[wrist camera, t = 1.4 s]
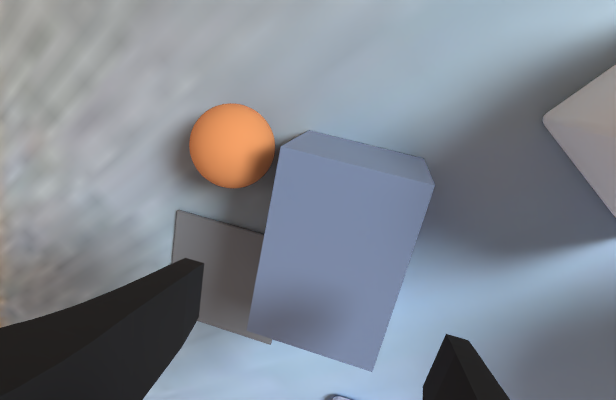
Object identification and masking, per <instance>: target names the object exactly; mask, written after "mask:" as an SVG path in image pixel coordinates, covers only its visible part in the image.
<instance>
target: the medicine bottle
mask: <svg viewBox="0 0 616 400" xmlns="http://www.w3.org/2000/svg"><path fill="white" fill-rule="evenodd" d="M543 123H544V125H545V127H546V128H547V129H548V131H549V132H550V133H551V134H552V136H553V137H554V138H555V140H556V141H557V142H558V144H559V145H560V146H561V147H562V149H563V150H564V151H565V153H566V154H567V155H568V157H569V158H570V159H571V160H572V162H573V163H574V164H575V166H576V167H577V168H578V170H579V171H580V172H581V174H582V175H583V176H584V177H585V179H586V180H587V181H588V183H589V184H590V185H591V187H592V188H593V189H594V190H595V192H596V193H597V194H598V196H599V197H600V198H601V200H602V201H603V202H604V203H605V205H606V206H607V207H608V209H609V210H610V211H611V213H612V214H613V215H614V217H615V218H616V64H615V65H614V66H613V67H611V68H610V69H608V70H607V71H605V72H604V73H603V74H601V75H600V76H598V77H597V78H595V79H594V80H593V81H591V82H590V83H588V84H587V85H586V86H584V87H583V88H581V89H580V90H578V91H577V92H576V93H574V94H573V95H571V96H570V97H568V98H567V99H566V100H564V101H563V102H561V103H560V104H558V105H557V106H556V107H554V108H553V109H551V110H550V111H549V112H547V113H546V114H545V115H544V116H543Z"/></svg>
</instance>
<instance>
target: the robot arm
mask: <svg viewBox="0 0 616 400" xmlns="http://www.w3.org/2000/svg"><path fill="white" fill-rule="evenodd" d="M203 272H204V263H202V262H199V261H195V260H192V259H188V258H184V259H181V260H179V261H177V262H175V263H172V264H170V265H168V266H166V267H164V268H162V269H160V270H158V271H156V272H153V273H151V274H149V275H147V276H145V277H143V278H140V279H138V280H136V281H134V282H132V283H129V284H127V285H125V286H123V287H120V288H118V289H116V290H113V291H111V292H108V293H106V294H103V295H101V296H98V297H96V298H93V299H91V300H89V301H86V302H83V303H81V304H78V305H75V306H72V307H70V308H67V309H64V310H61V311H58V312H55V313H51V314H48V315H45V316H42V317H39V318H35V319H32V320H28V321H25V322H21V323H17V324H13V325H9V326H6V327H2V328H0V400H143V398H144V397H145V396H146V394H147V393H148V392H149V390H150V389H151V388H152V386H153V385H154V384H155V382H156V381H157V380H158V378H159V377H160V376H161V374H162V373H163V372H164V370H165V369H166V368H167V366H168V365H169V364H170V362H171V361H172V359H173V358H174V357H175V355H176V354H177V353H178V351H179V350H180V349H181V347H182V346H183V344H184V342H185V341H186V339H187V337H188V335H189V334H190V332H191V330H192V328H193V327H194V325H195V323H196V321H197V319H198V318H199V311H200V301H201V292H202V282H203ZM332 400H350V399H347V398H344V397H340V396H336V397H334V398H333V399H332ZM423 400H510V399H509V398H508V396H507V395H506V393H505V392H504V391H503V389H502V388H501V386H500V385H499V384H498V382H497V381H496V379H495V378H494V376H493V375H492V373H491V372H490V371H489V369H488V368H487V366H486V365H485V363H484V362H483V360H482V359H481V357H480V356H479V355H478V353H477V352H476V350H475V349H474V347H473V346H472V345H471V343H470V342H469V341H468V340H465V339H462V338H458V337H455V336H452V335H448V334H446V335H445V338H444V340H443V342H442V344H441V347H440V349H439V351H438V353H437V356H436V358H435V360H434V363H433V365H432V367H431V369H430V372H429V374H428V376H427V378H426V381H425V383H424V385H423Z"/></svg>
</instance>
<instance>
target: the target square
mask: <svg viewBox="0 0 616 400" xmlns="http://www.w3.org/2000/svg"><path fill="white" fill-rule="evenodd" d="M263 239H264V234H261V233H257V232H254V231H251V230H247V229H244V228H240V227H237V226H233V225H230V224H226V223H223V222H219V221H216V220H213V219H209V218H206V217H202V216H199V215H195V214H192V213H188V212H185V211H181V210H178V211H177V218H176V228H175V238H174V248H173V258H172V263H175V262H177V261H179V260H181V259H184V258H188V259H192V260H195V261H199V262H202V263H204V272H203V282H202V292H201V301H200V311H199V318H198V319H197V321H200V322H203V323H206V324H209V325H212V326H215V327H218V328H221V329H224V330H227V331H230V332H233V333H236V334H239V335H242V336H245V337H248V338H251V339H254V340H257V341H260V342H264V343H267V344H270V345H271V343H272V339H270V338H267V337H264V336H261V335H258V334H255V333H252V332H249V331H247V325H248V320H249V315H250V309H251V304H252V298H253V293H254V288H255V282H256V277H257V272H258V266H259V261H260V256H261V250H262V245H263Z"/></svg>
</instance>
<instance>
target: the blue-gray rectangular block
mask: <svg viewBox="0 0 616 400" xmlns="http://www.w3.org/2000/svg"><path fill="white" fill-rule="evenodd" d="M434 187H435V184H434V182H433V179H432V177H431V174H430V172H429V170H428V167H427V165H426V162H425V160H424V158H420V157H416V156H412V155H408V154H404V153H400V152H396V151H391V150H387V149H383V148H379V147H375V146H371V145H367V144H363V143H359V142H355V141H351V140H347V139H343V138H339V137H334V136H330V135H326V134H322V133H318V132H314V131H310V130H309V131H307V132H305V133H304V134H302V135H300V136H298V137H296V138H295V139H293V140H291V141H289V142H288V143H286V144H284V145H282V146H281V148H280V154H279V159H278V164H277V170H276V175H275V180H274V186H273V191H272V197H271V202H270V207H269V213H268V218H267V223H266V229H265V234H264V239H263V245H262V250H261V256H260V261H259V266H258V272H257V277H256V282H255V288H254V293H253V298H252V304H251V309H250V315H249V320H248V325H247V331H249V332H252V333H255V334H258V335H261V336H264V337H267V338H270V339H273V340H276V341H280V342H283V343H286V344H289V345H292V346H295V347H298V348H301V349H304V350H307V351H310V352H313V353H316V354H319V355H322V356H325V357H328V358H331V359H334V360H337V361H340V362H344V363H347V364H350V365H353V366H356V367H359V368H362V369H365V370H368V371H371V372H372V371H373V368H374V365H375V362H376V359H377V356H378V353H379V350H380V347H381V344H382V342H383V339H384V336H385V333H386V330H387V327H388V324H389V321H390V318H391V315H392V312H393V309H394V306H395V303H396V300H397V297H398V294H399V291H400V288H401V285H402V282H403V279H404V276H405V273H406V270H407V267H408V264H409V261H410V258H411V255H412V252H413V250H414V247H415V244H416V241H417V238H418V235H419V232H420V229H421V226H422V223H423V220H424V217H425V214H426V211H427V208H428V205H429V202H430V199H431V196H432V193H433V190H434Z"/></svg>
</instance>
